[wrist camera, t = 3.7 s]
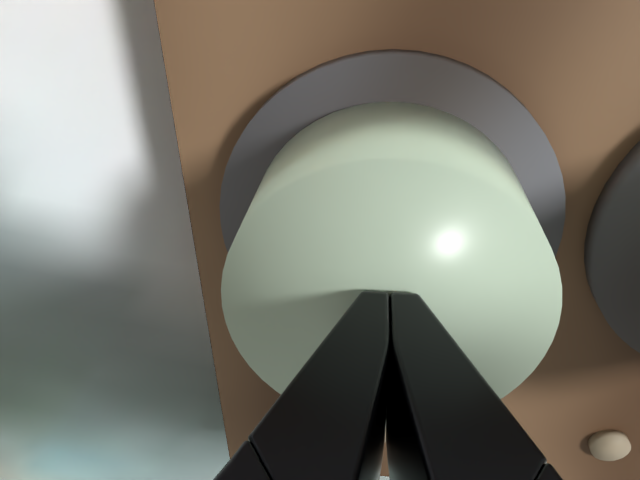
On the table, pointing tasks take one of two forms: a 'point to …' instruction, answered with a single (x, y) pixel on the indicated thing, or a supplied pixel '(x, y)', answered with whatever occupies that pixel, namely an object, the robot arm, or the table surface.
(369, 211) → the sage button
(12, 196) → the table surface
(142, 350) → the table surface
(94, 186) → the table surface
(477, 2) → the button board
